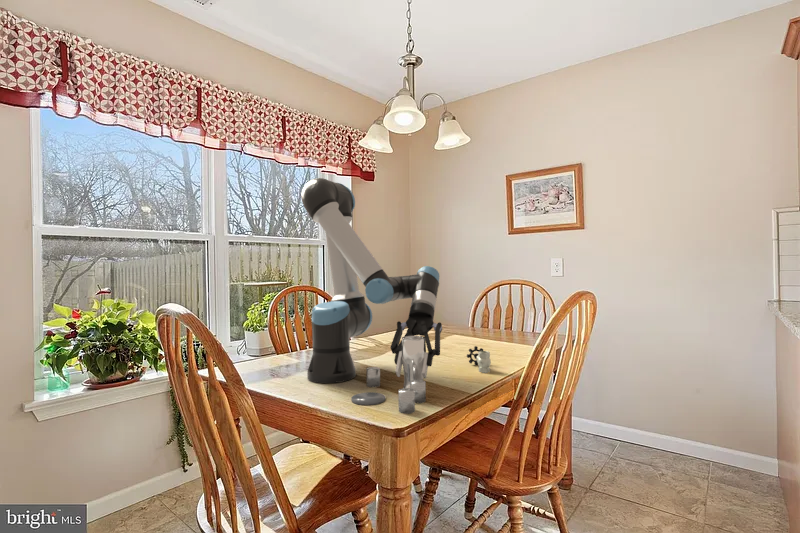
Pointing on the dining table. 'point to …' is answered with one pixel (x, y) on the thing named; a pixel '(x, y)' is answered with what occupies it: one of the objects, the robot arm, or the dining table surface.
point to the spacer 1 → (373, 376)
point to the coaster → (368, 398)
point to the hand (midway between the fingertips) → (410, 374)
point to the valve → (480, 359)
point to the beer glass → (412, 358)
